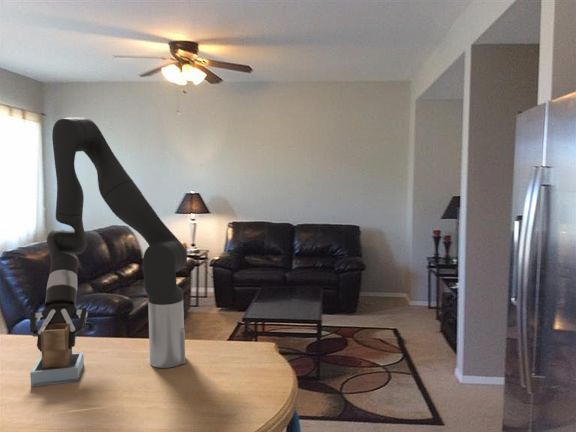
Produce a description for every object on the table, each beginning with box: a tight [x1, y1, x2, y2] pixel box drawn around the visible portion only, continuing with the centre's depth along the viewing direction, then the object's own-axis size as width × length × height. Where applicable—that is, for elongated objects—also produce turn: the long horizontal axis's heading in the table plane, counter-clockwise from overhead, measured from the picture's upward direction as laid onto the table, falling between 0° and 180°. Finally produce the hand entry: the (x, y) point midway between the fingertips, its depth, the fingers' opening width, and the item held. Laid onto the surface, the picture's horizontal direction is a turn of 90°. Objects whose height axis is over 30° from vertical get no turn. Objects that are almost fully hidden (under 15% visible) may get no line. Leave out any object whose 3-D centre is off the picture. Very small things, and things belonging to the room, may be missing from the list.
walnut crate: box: [40, 323, 73, 370], centre depth 125 cm, size 6×6×10 cm
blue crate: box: [29, 351, 85, 388], centre depth 125 cm, size 11×11×4 cm
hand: (55, 348), depth 123 cm, fingers closed on walnut crate, 6 cm apart
